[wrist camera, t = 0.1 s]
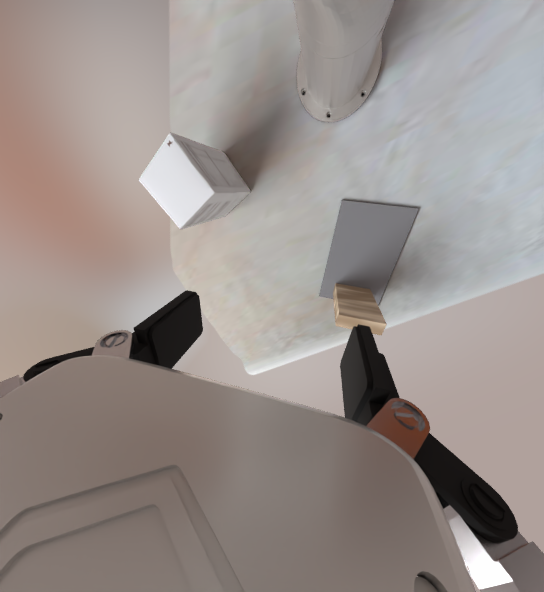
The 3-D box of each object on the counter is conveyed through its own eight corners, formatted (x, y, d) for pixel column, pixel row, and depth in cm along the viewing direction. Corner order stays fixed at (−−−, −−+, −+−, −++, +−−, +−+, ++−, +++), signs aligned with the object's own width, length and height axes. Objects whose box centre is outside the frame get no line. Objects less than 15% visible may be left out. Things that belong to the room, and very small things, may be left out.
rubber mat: (342, 200, 39) (342, 200, 39) (417, 208, 37) (418, 208, 37) (319, 295, 50) (319, 296, 50) (377, 306, 48) (377, 307, 48)
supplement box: (196, 182, 44) (134, 178, 30) (223, 150, 40) (167, 127, 26) (224, 218, 47) (179, 231, 32) (252, 192, 43) (215, 193, 28)
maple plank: (335, 283, 47) (339, 314, 35) (370, 289, 46) (386, 324, 34) (332, 293, 49) (335, 326, 37) (366, 299, 47) (380, 336, 35)
